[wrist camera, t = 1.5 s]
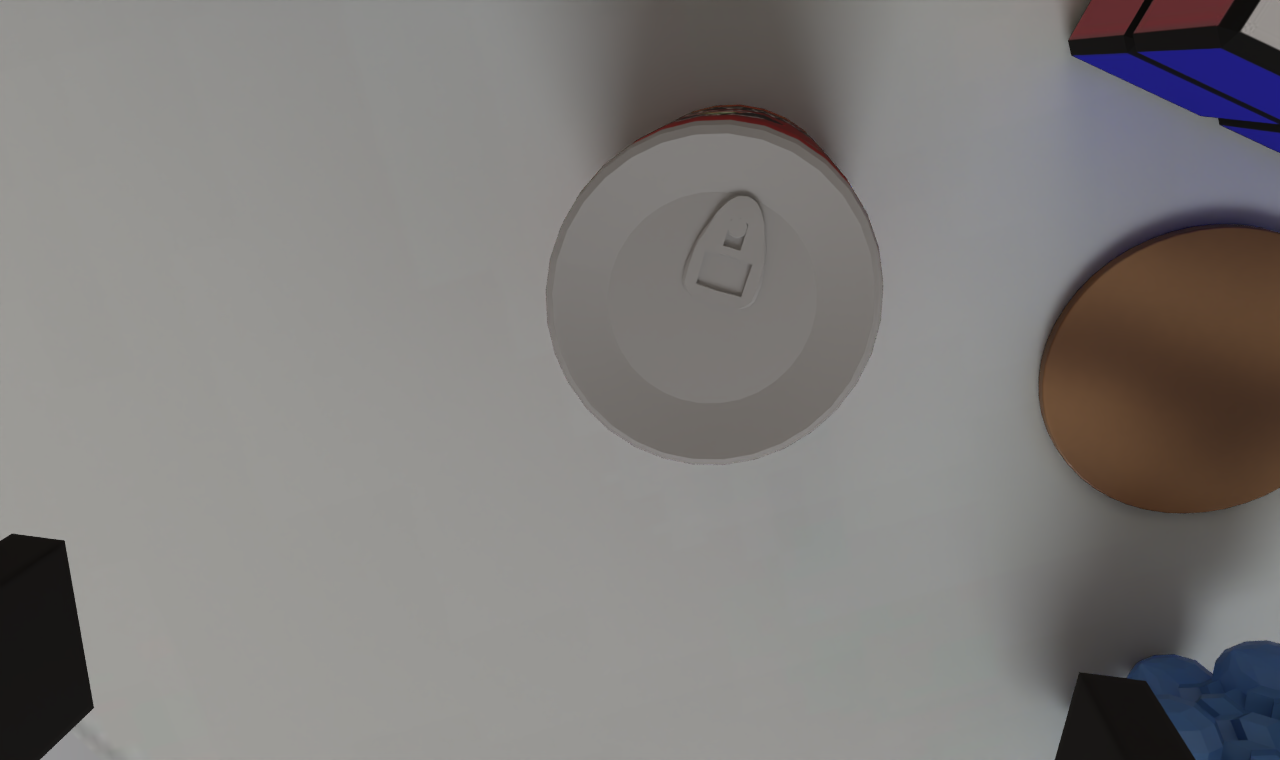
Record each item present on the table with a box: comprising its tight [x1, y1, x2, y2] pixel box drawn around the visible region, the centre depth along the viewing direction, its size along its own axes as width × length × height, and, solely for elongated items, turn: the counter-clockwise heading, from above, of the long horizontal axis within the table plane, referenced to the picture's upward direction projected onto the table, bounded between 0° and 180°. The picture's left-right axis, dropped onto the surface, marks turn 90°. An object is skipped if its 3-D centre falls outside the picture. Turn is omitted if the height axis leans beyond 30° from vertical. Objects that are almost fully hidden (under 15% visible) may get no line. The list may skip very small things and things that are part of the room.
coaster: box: [1039, 224, 1280, 513], centre depth 30 cm, size 10×10×1 cm
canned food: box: [546, 105, 883, 465], centre depth 25 cm, size 8×8×11 cm
